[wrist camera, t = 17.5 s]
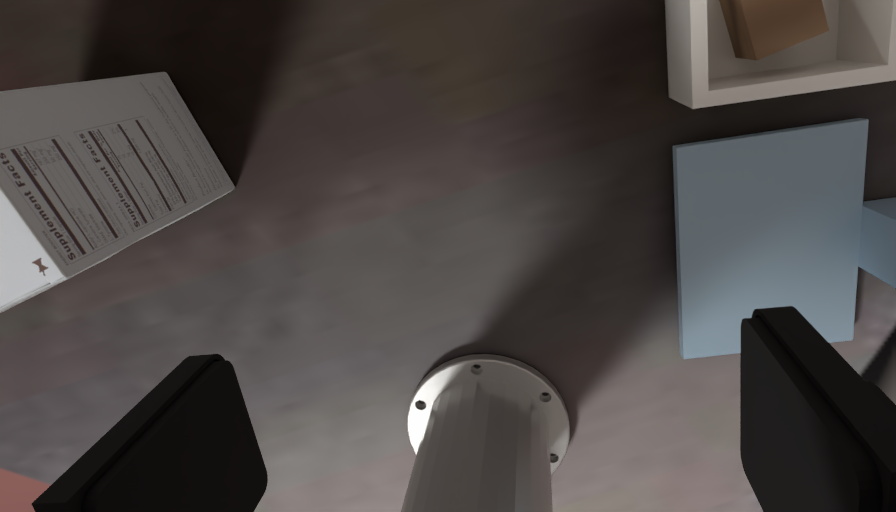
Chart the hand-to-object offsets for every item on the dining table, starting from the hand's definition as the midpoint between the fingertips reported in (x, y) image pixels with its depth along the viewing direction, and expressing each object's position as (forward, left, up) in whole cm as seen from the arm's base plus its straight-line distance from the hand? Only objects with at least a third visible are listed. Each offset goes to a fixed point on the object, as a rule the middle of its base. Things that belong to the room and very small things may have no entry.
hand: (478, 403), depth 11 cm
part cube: (+5, -14, -30) cm, 33 cm away
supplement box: (+2, +26, -31) cm, 40 cm away
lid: (-9, -16, -30) cm, 36 cm away
